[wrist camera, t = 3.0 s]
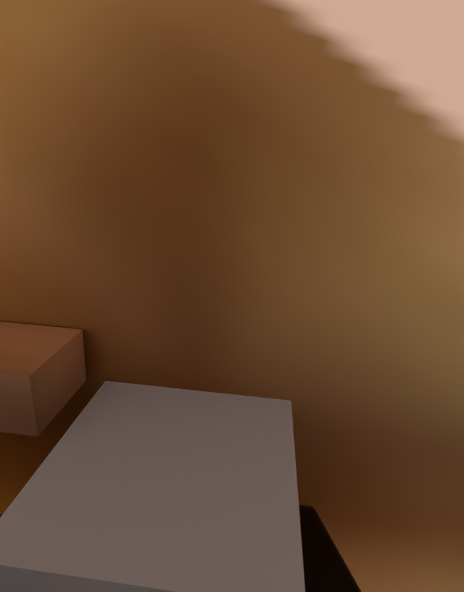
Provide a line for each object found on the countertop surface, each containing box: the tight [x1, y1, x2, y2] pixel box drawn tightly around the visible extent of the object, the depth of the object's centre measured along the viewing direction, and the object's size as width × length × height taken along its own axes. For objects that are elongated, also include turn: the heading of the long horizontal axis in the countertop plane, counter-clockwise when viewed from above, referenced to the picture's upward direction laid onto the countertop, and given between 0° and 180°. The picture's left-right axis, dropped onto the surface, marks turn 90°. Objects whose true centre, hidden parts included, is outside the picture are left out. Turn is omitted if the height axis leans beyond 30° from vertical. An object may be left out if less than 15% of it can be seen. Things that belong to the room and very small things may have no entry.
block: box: [0, 381, 305, 592], centre depth 7 cm, size 4×4×4 cm
